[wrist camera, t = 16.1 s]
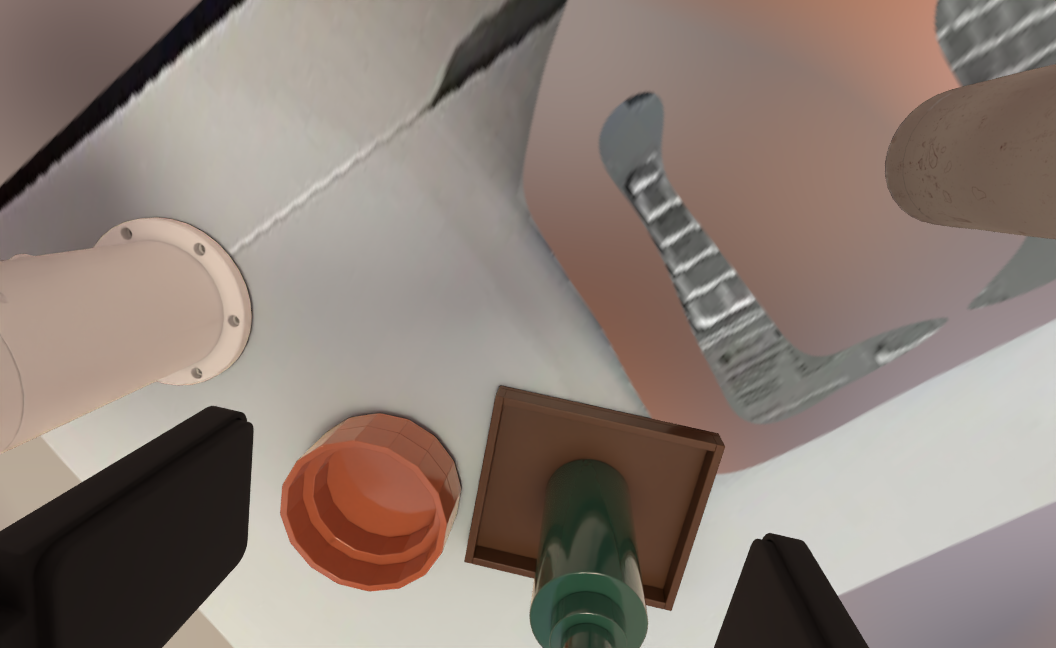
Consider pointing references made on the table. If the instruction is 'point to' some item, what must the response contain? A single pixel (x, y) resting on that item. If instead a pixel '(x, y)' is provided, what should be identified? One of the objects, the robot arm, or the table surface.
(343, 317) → the table surface
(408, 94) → the table surface
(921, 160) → the thermos bottle
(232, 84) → the table surface
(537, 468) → the tray
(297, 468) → the bowl
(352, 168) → the table surface
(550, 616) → the bottle
